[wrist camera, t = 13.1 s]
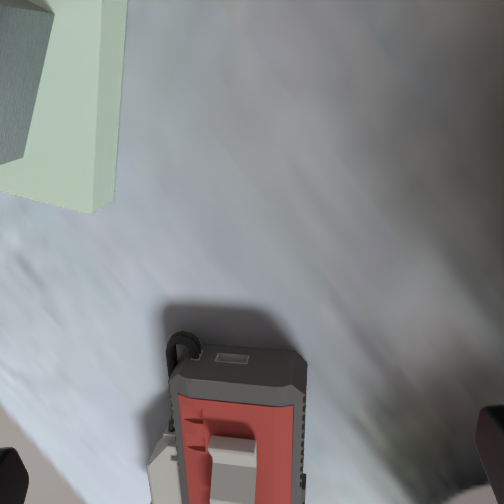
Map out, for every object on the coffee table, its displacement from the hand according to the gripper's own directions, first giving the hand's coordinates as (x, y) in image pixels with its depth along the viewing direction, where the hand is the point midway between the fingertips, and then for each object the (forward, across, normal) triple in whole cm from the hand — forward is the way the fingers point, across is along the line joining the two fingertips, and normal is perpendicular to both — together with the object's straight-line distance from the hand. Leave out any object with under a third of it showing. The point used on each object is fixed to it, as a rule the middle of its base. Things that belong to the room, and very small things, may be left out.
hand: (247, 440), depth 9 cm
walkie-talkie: (+12, +2, +16) cm, 20 cm away
